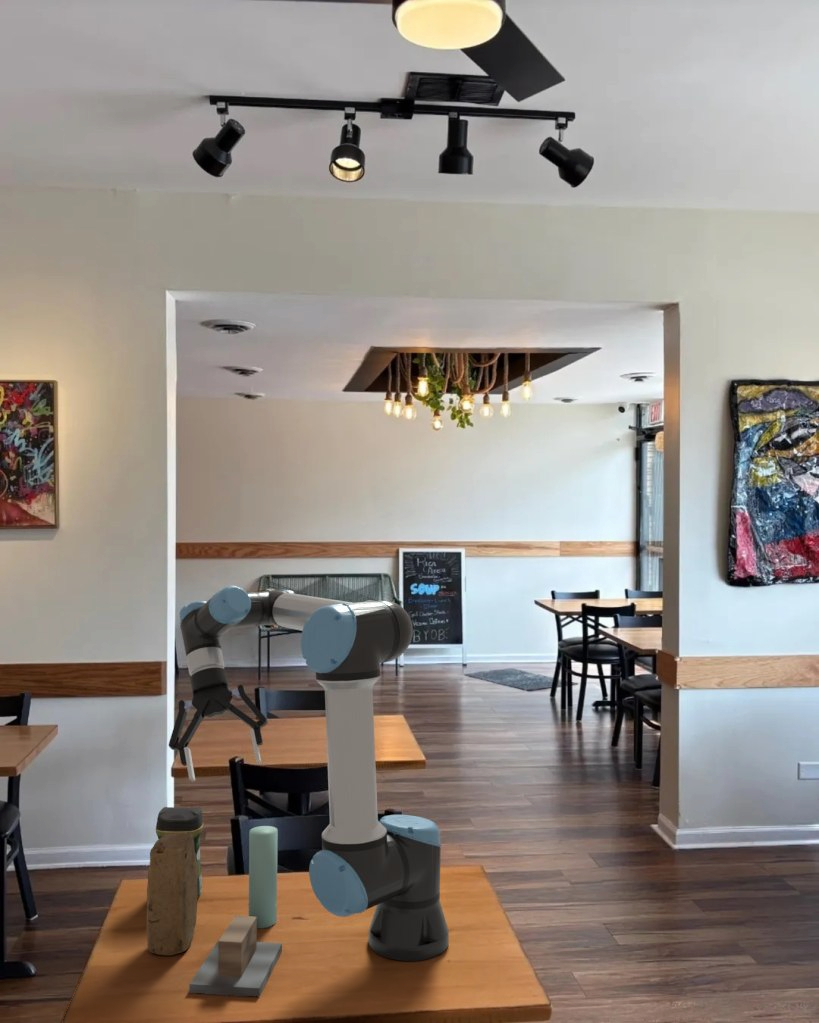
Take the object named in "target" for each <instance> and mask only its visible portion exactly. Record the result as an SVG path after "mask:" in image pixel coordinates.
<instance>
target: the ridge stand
mask: <svg viewBox="0 0 819 1023" xmlns="http://www.w3.org/2000/svg"><path fill="white" fill-rule="evenodd" d="M257 931H258V928H257V917H255V916H249V915H234V917H233V919H232V920H231V921H230V923H229V924H228V926H227V928H225V930H224V932H223V934H222V935H221V937H220V938H219V939H218V940H217V942H216V943H215V944H214V946H213V948H212V949H211V951H210V952H209V954H207V957H206V958H205V960H204V961H203V963H202V964H201V966H200V967H199V969H198V970H197V971H196V974H195V975H194V977H193V978H192V979H191V981H190V982H189V985H188V986H189V989H188V990H189V991H188V993H189V994H196V993H202V994H201V995H212V994H213V995H214V994H215V995H216V996H229V995H231V996H232V995H233V997H245V996H255V997H254V998H260V997H261V996H262V992H263V991H264V989H265V987H266V985H267V982H268V981H267V980H269V979H268V978H270V977H271V975H272V973H271V972H273V971H272V970H274V969H275V967H276V965H277V962H278V960H279V959H280V956H281V954H282V952H283V943H282V942H267V941H265V942H264V941H258V940H257V936H258V934H257ZM270 974H271V975H270ZM269 976H270V977H269ZM203 993H204V994H203ZM256 996H257V997H256ZM259 996H260V997H259Z"/></svg>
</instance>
